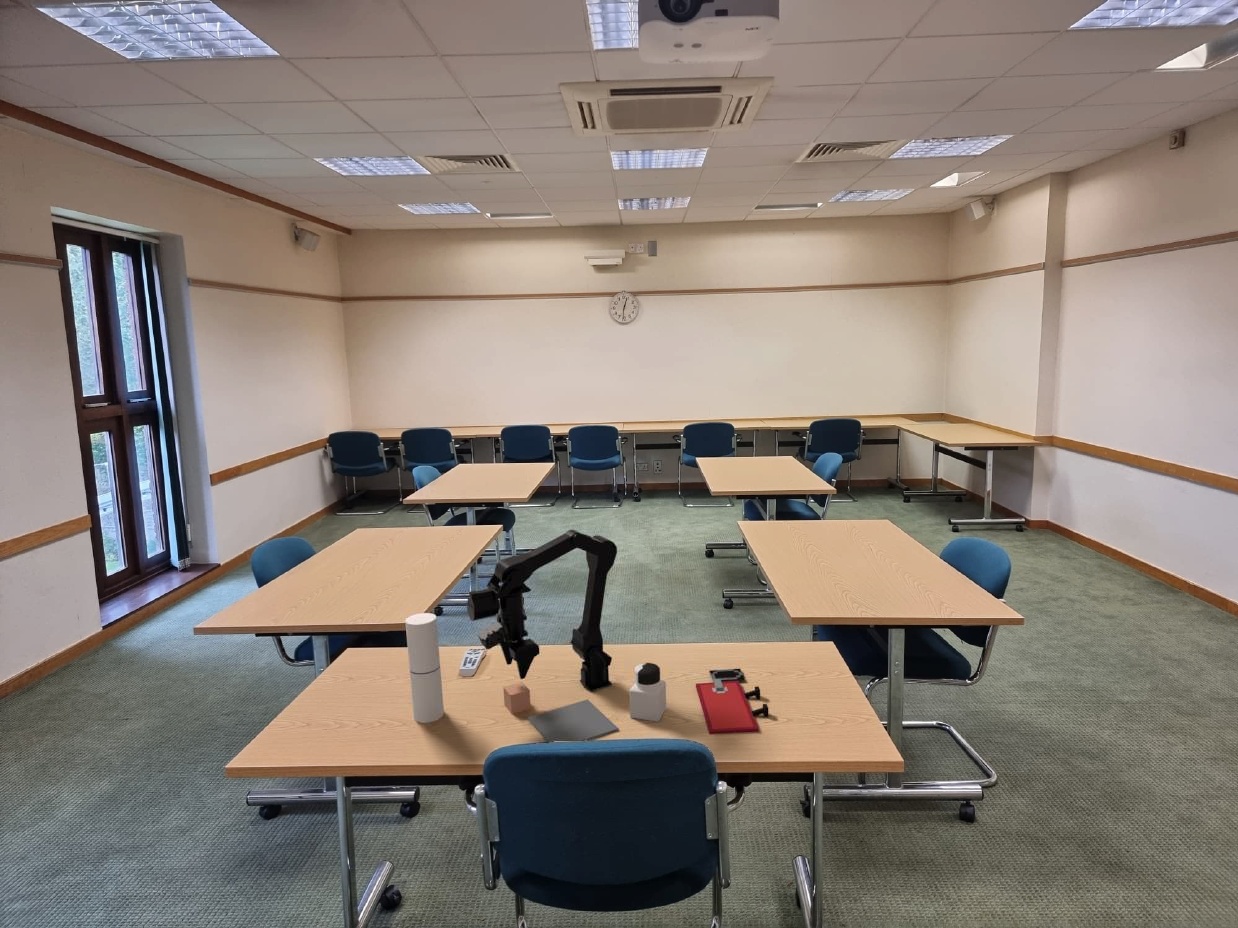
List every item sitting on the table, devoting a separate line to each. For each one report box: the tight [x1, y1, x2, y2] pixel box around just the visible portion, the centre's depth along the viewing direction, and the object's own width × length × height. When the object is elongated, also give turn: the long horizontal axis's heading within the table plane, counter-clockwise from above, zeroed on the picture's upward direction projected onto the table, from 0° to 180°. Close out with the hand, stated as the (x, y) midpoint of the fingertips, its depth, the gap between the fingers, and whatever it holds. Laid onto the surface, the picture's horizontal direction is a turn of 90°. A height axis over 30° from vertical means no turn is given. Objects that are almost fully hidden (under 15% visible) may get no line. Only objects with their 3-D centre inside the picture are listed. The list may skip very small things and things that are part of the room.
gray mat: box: [527, 699, 620, 743], centre depth 166 cm, size 16×16×1 cm
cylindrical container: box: [404, 612, 445, 724], centre depth 170 cm, size 7×7×25 cm
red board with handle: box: [695, 668, 770, 735], centre depth 175 cm, size 30×3×15 cm
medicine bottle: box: [629, 662, 667, 723], centre depth 169 cm, size 7×7×12 cm
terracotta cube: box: [503, 681, 532, 715], centre depth 175 cm, size 5×5×5 cm
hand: (515, 671), depth 174 cm, fingers open, 9 cm apart
